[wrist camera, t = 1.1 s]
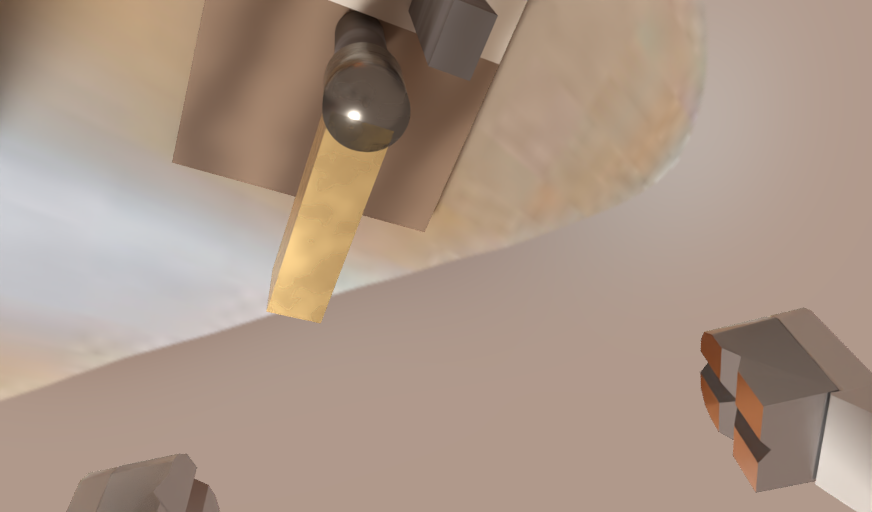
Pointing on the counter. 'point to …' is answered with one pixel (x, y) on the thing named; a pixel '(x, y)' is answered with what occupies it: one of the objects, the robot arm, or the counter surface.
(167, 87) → the counter surface
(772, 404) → the robot arm
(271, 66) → the lock plate
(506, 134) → the counter surface
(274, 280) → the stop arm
